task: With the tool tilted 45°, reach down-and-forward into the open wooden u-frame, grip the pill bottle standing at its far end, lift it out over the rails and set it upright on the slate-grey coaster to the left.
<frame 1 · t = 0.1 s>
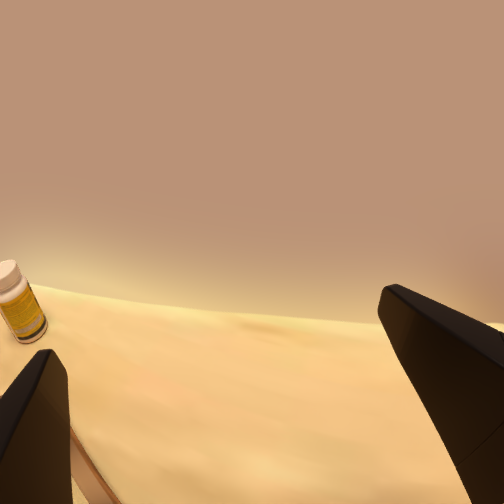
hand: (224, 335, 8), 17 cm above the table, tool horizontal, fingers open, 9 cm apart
supplement bottle: (32, 331, 30), on the table
open wooden u-frame: (28, 475, 16), on the table
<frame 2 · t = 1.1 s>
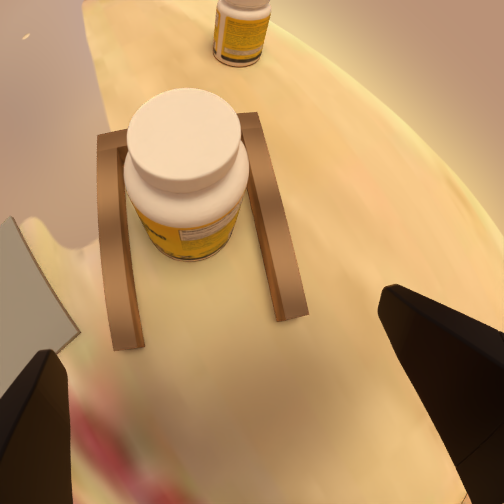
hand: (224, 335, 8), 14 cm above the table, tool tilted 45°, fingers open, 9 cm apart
pill bottle: (190, 222, 23), on the table
supplement bottle: (236, 54, 28), on the table
open wooden u-frame: (190, 220, 23), on the table
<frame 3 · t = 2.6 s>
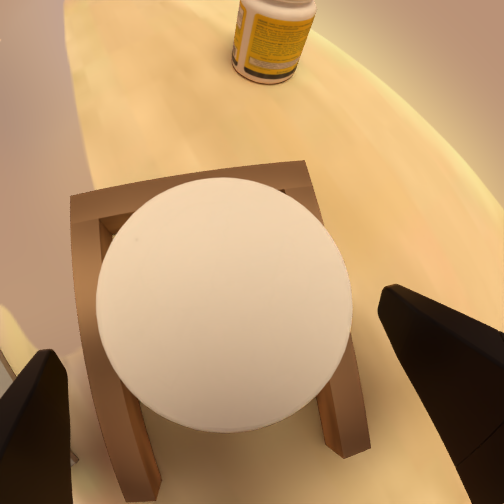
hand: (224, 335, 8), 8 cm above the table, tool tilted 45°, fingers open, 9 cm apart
pill bottle: (211, 323, 16), on the table
supplement bottle: (262, 65, 21), on the table
open wooden u-frame: (211, 323, 16), on the table
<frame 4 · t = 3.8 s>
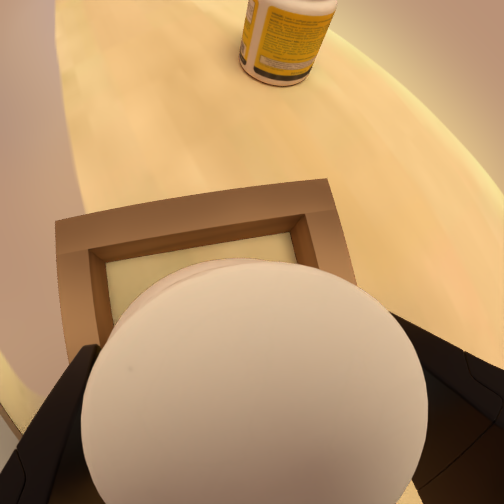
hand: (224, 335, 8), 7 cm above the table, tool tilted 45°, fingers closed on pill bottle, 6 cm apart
pill bottle: (220, 364, 14), on the table, touching gripper
supplement bottle: (273, 65, 19), on the table
open wooden u-frame: (220, 365, 14), on the table
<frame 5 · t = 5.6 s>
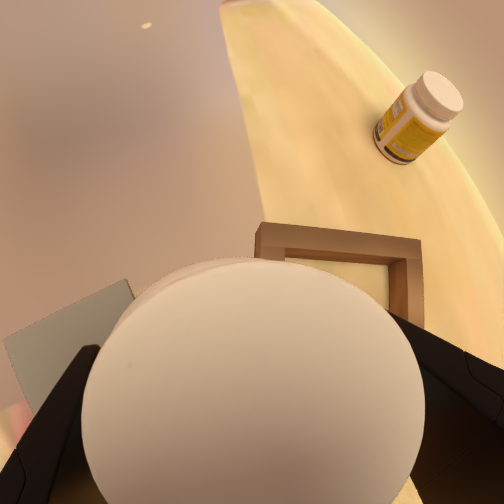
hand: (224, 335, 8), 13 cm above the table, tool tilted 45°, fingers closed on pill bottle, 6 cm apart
pill bottle: (221, 363, 14), point 6 cm above the table, touching gripper
coaster: (92, 386, 18), on the table
supplement bottle: (393, 144, 27), on the table
open wooden u-frame: (335, 338, 22), on the table
when the fingers open (8 cm above the table, at t = 7.6 s): pill bottle stays where it is, resting on coaster.
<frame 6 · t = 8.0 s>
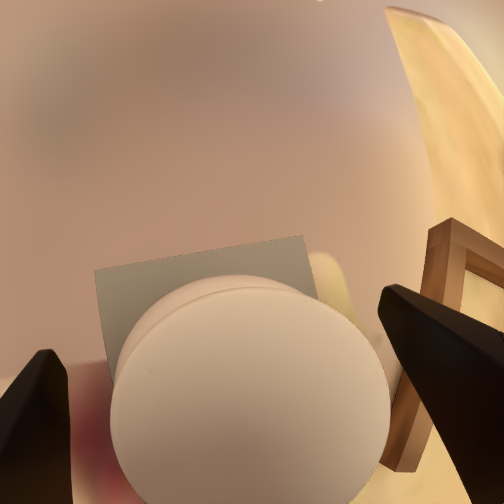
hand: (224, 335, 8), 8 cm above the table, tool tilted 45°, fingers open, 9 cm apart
pill bottle: (220, 365, 15), resting on coaster
coaster: (219, 361, 15), on the table
open wooden u-frame: (472, 351, 18), on the table
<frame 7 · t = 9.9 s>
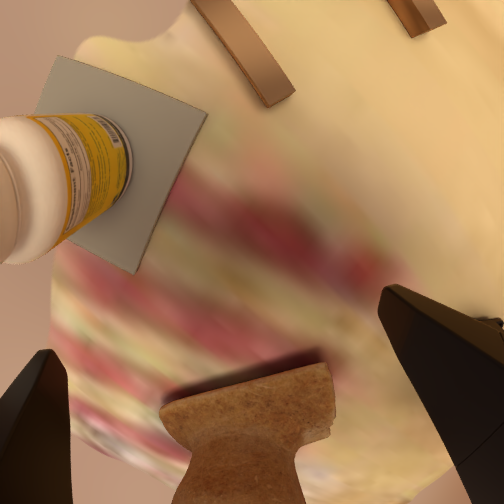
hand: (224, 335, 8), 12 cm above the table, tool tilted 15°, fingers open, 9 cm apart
pill bottle: (92, 163, 17), resting on coaster
coaster: (92, 161, 18), on the table
brown boot-shaped piece: (254, 414, 26), on the table
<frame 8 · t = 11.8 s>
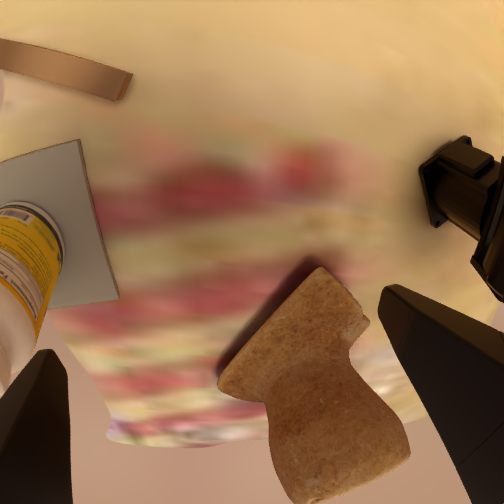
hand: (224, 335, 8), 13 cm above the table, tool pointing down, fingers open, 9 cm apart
pill bottle: (26, 241, 17), resting on coaster
coaster: (26, 239, 18), on the table
brown boot-shaped piece: (296, 340, 29), on the table
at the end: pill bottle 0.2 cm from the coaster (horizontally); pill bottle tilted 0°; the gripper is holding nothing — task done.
